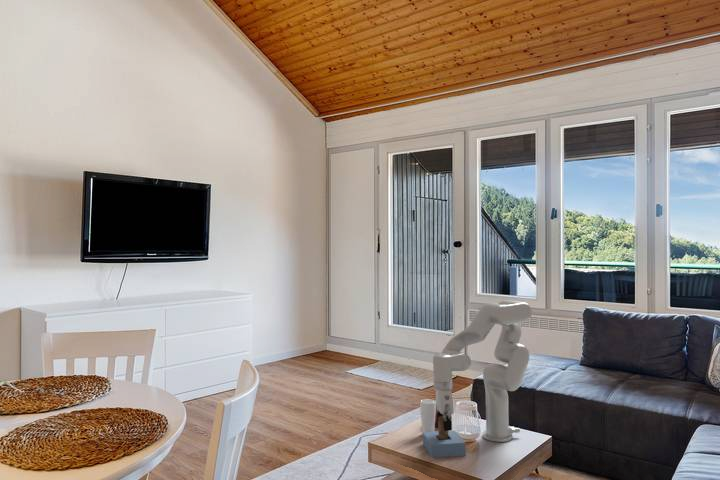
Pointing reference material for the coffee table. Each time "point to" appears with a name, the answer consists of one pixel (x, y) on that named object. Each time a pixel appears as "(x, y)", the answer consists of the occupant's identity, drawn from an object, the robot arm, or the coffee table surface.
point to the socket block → (444, 444)
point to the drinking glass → (428, 415)
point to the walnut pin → (442, 429)
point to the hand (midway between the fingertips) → (444, 426)
